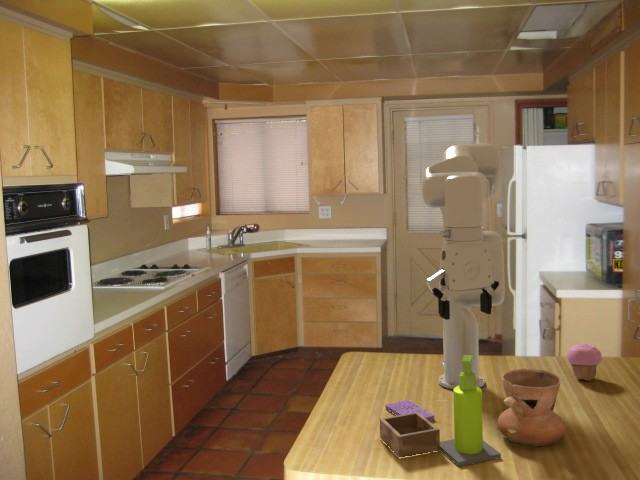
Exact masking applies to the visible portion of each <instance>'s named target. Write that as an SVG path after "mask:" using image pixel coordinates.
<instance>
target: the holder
mask: <svg viewBox="0 0 640 480" xmlns="http://www.w3.org/2000/svg"><path fill="white" fill-rule="evenodd" d="M440 436H441V433H440V428H438V427H437V426H436V425H435V424H434V423H432V421H429V420H427V419H426V418H425V417H424V416H422V415H421V414H420V413H419V412H415V413H409V414H403V415H397V416H395V415H393V416H387V417H386V416H385V417H381V418H379V438H381V439H382V440H383V441H384V442H385V443H386V444H387V446H389V447H390V449H391V450H392V451H394V453H395V454H396V455H397V456H398V457H405V456H412V455H416V454H423V453H428V452H433V451H439V450H440V442H441V437H440ZM387 446H386V447H387ZM390 449H389V450H390ZM391 450H390V451H391ZM392 451H391V452H392ZM394 453H393V454H394ZM395 454H394V455H395ZM396 455H395V456H396ZM397 456H396V457H397ZM398 457H397V458H398Z"/></svg>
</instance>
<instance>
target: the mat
mask: <svg viewBox="0 0 640 480" xmlns="http://www.w3.org/2000/svg"><path fill="white" fill-rule="evenodd" d="M440 450H441V451H442V452H443V453H444V454H443V453H442V452H441V451H440V452H441V453H442V454H443V455H445V454H446V455H447V456H448V457H449V458H450V459H451V460H452V461H451V460H450V459H449V458H448V457H447V456H446V455H445V456H446V457H447V458H448V459H449V460H450V461H451V462H453V461H454V462H455V463H456V464H457V465H458V466H460V467H463V466H462V465H465V466H468V465H467V464H470V465H473V464H472V463H475V464H478V463H477V462H480V463H482V462H481V461H485V462H488V460H489V461H493V460H498V459H501V458H502V453H501V452H500V451H498V450H496V449H495V448H494V447H493V446H491V445H490V444H489V443H487V442H486V441H485V440H483V450H482V451H481V452H479V453H476V454H464V453H460V452H458V451H457V450H456V449H455V438H453V439H448V440H442V441H440ZM454 462H453V463H454ZM455 463H454V464H455ZM456 464H455V465H456ZM457 465H456V466H457ZM458 466H457V467H458Z"/></svg>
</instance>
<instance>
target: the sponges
mask: <svg viewBox="0 0 640 480" xmlns="http://www.w3.org/2000/svg"><path fill="white" fill-rule="evenodd" d="M384 407H386V408H387V409H388V410H390V411H391V412H393V413H394V414H396V415H403V414H409V413H415V412H419V413H420V414H421V415H422V416H424V417H425V418H426V419H427V420H429V421H430V420H433V421H435V416H436V415H435V414H433V413H432V412H430V411H427V409H425V408H423V407H422V406H420V405H419V404H417V403H415V402H413V400H411V399H408V398H406V399H404V400H399V401H397V402H396V401H395V402H392V403H387V404H385V406H384ZM387 409H386V410H387ZM388 410H387V411H388ZM390 411H389V412H390ZM391 412H390V413H391ZM394 414H393V415H394ZM430 422H431V421H430Z"/></svg>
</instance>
